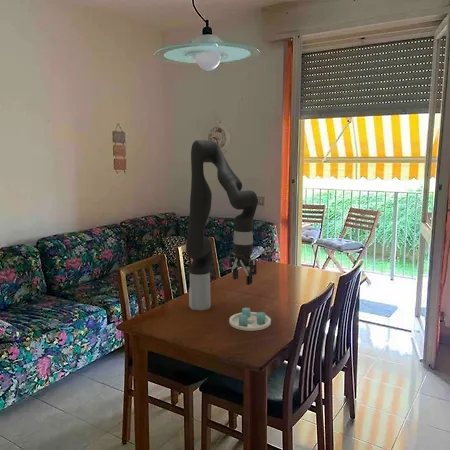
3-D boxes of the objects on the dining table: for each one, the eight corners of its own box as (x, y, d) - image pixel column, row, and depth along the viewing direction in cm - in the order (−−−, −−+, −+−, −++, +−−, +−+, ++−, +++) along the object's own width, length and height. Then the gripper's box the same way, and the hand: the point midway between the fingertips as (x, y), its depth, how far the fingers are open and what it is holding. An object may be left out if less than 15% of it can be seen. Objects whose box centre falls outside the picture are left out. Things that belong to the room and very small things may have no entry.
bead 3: (260, 325, 173) (260, 315, 172) (255, 322, 176) (255, 313, 175) (267, 323, 175) (267, 314, 174) (261, 320, 177) (261, 311, 177)
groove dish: (237, 334, 166) (237, 329, 165) (224, 318, 182) (224, 313, 181) (277, 329, 171) (277, 323, 170) (261, 314, 187) (261, 309, 186)
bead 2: (245, 327, 170) (245, 318, 170) (237, 326, 172) (237, 316, 171) (248, 324, 173) (248, 315, 173) (241, 323, 175) (241, 313, 174)
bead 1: (243, 320, 178) (243, 311, 177) (240, 317, 181) (240, 308, 181) (251, 319, 179) (251, 310, 178) (248, 316, 182) (248, 307, 182)
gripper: (262, 244, 163) (261, 284, 166) (239, 237, 174) (238, 275, 177) (247, 246, 159) (246, 288, 162) (224, 239, 170) (223, 278, 173)
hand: (242, 281), depth 169 cm, fingers open, 8 cm apart
